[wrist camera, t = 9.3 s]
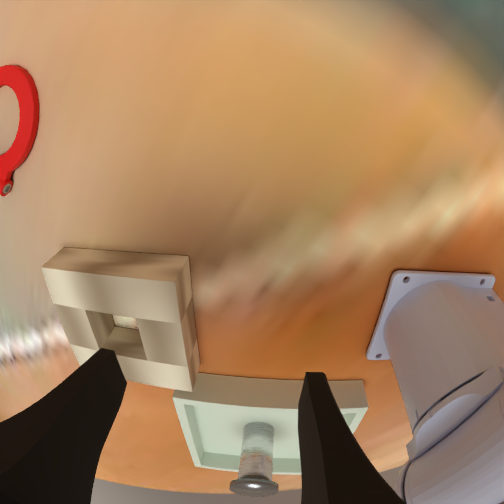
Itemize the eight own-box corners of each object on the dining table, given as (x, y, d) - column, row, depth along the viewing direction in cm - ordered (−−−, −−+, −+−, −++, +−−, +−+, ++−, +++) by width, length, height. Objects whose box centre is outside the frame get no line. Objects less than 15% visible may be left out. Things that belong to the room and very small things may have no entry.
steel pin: (270, 415, 25) (266, 482, 19) (286, 434, 27) (285, 494, 20) (230, 422, 26) (220, 485, 20) (249, 440, 28) (243, 497, 21)
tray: (362, 379, 23) (368, 407, 21) (325, 453, 31) (327, 473, 28) (180, 370, 24) (172, 397, 22) (199, 446, 31) (195, 466, 29)
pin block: (188, 256, 19) (174, 282, 16) (200, 363, 24) (192, 392, 21) (64, 247, 19) (41, 267, 17) (95, 345, 24) (81, 368, 21)
